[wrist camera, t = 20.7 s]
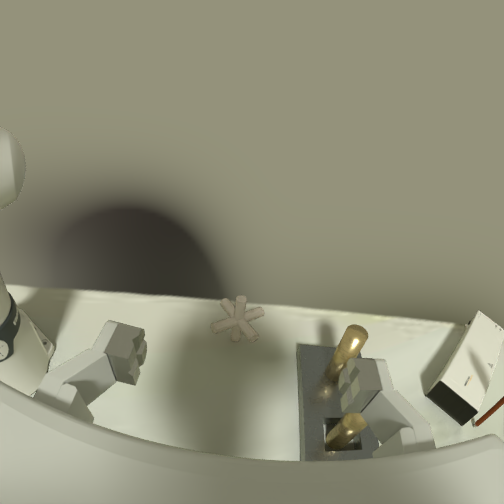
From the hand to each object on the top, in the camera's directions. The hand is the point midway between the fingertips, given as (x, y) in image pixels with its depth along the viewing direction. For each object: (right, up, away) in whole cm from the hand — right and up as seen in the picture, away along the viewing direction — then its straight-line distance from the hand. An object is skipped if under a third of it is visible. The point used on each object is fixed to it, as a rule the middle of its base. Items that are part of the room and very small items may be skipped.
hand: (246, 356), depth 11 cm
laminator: (+50, -23, +42) cm, 69 cm away
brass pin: (+13, -25, +28) cm, 40 cm away
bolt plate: (+14, -22, +33) cm, 42 cm away
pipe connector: (-3, -12, +44) cm, 46 cm away
